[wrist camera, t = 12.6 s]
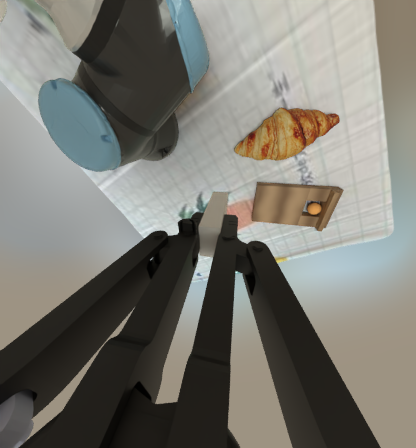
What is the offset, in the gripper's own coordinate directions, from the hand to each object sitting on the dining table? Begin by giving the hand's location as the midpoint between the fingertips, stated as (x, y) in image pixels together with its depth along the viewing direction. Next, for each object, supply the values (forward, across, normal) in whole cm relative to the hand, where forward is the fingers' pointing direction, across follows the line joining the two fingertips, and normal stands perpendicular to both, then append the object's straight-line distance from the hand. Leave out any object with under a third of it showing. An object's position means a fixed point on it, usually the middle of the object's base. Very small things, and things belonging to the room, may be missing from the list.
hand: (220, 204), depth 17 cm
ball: (+28, +23, -12) cm, 38 cm away
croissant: (+30, +10, +5) cm, 32 cm away
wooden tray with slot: (+29, +17, -12) cm, 36 cm away
